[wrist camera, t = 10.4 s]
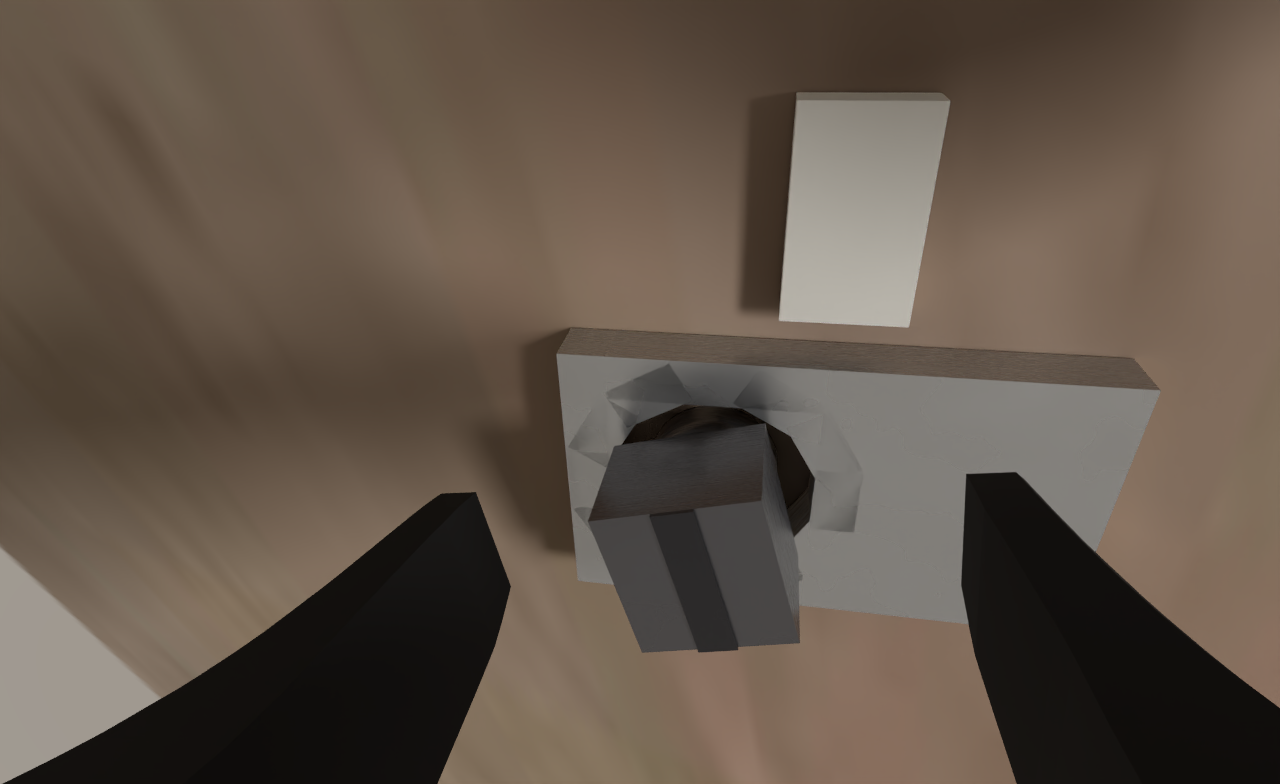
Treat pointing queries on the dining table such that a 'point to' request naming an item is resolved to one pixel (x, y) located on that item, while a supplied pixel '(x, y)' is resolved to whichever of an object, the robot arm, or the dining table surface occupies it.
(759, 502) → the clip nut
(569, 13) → the dining table surface
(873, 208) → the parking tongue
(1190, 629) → the dining table surface
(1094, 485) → the flange plate
